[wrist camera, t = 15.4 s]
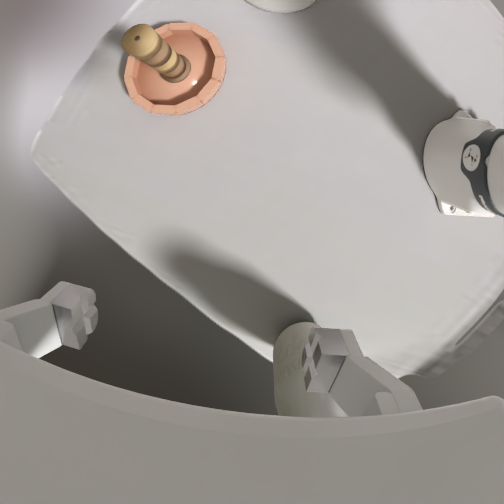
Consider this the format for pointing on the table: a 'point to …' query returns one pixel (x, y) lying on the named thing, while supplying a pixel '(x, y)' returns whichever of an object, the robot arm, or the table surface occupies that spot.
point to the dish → (193, 86)
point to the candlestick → (281, 5)
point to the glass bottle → (298, 377)
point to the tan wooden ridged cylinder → (156, 53)
